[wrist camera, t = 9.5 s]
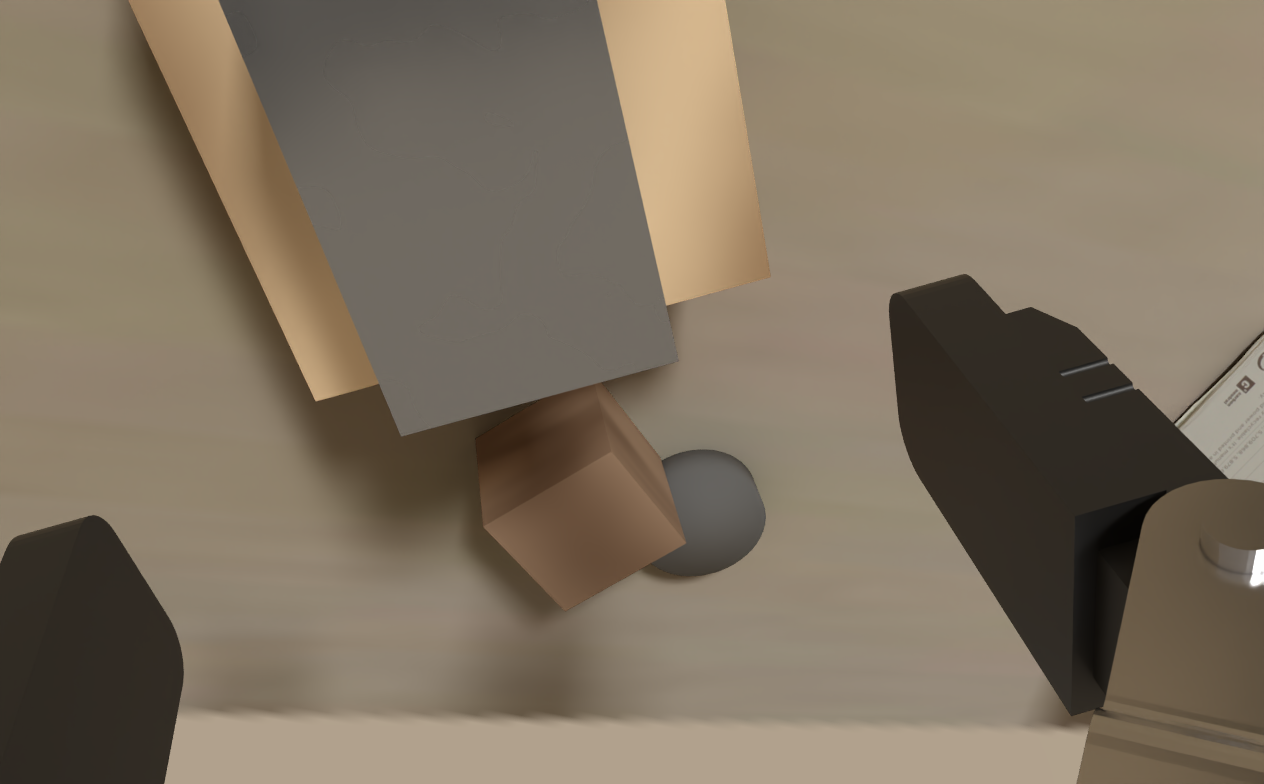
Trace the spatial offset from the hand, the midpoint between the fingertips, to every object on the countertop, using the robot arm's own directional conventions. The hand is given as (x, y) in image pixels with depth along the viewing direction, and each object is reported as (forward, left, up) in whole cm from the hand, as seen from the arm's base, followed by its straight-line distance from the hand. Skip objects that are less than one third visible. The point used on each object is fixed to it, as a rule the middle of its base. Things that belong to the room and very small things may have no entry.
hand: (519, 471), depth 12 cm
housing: (0, 0, -12) cm, 12 cm away
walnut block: (-1, -14, -18) cm, 23 cm away
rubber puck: (+3, -17, -18) cm, 25 cm away
